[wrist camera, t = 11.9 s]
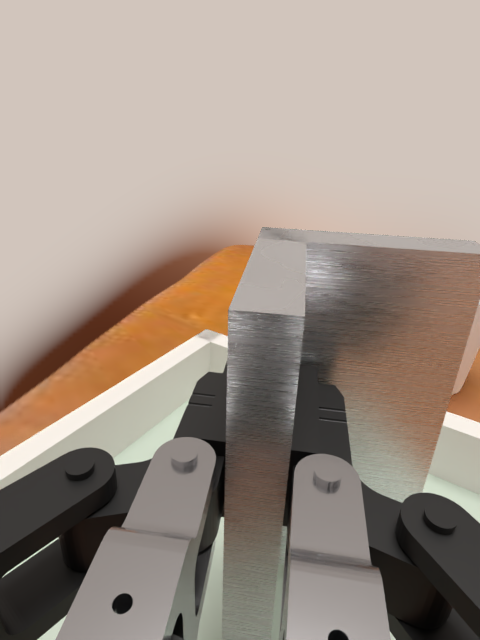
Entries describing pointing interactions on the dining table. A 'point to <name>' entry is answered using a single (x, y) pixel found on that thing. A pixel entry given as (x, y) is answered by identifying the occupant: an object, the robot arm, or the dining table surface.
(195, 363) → the arena
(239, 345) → the bracket
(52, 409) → the dining table surface
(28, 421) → the dining table surface
